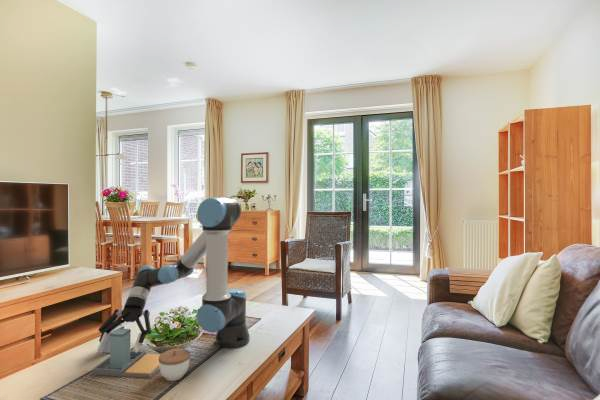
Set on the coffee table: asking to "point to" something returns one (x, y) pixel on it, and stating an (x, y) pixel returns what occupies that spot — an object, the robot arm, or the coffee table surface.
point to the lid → (144, 367)
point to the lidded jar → (174, 363)
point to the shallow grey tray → (116, 372)
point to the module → (120, 348)
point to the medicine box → (107, 345)
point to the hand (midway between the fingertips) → (117, 351)
